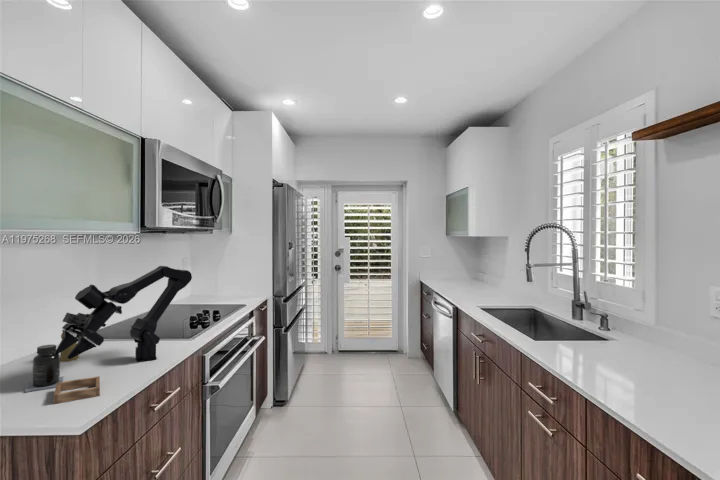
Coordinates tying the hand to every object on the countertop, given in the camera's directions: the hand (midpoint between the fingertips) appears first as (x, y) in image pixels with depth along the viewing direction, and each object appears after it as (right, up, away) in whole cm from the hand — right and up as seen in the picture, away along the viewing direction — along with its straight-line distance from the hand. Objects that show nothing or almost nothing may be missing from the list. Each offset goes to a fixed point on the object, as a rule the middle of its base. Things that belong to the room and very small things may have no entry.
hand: (62, 355), depth 129 cm
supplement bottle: (-2, -8, -4) cm, 9 cm away
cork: (-14, -8, +21) cm, 27 cm away
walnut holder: (+12, -9, -9) cm, 18 cm away
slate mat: (-3, -8, -4) cm, 9 cm away
